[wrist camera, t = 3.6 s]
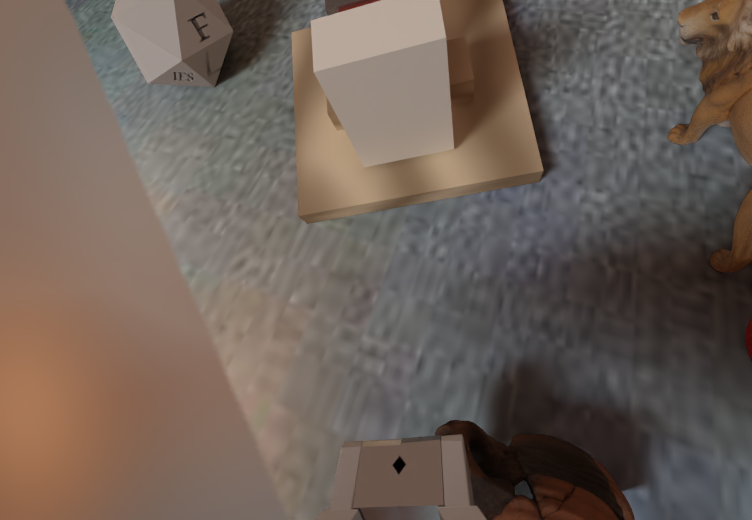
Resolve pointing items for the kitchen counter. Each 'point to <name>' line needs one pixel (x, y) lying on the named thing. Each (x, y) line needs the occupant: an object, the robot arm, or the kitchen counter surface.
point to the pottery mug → (537, 478)
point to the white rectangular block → (387, 77)
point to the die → (175, 39)
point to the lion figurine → (723, 98)
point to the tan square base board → (433, 171)
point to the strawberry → (749, 338)
